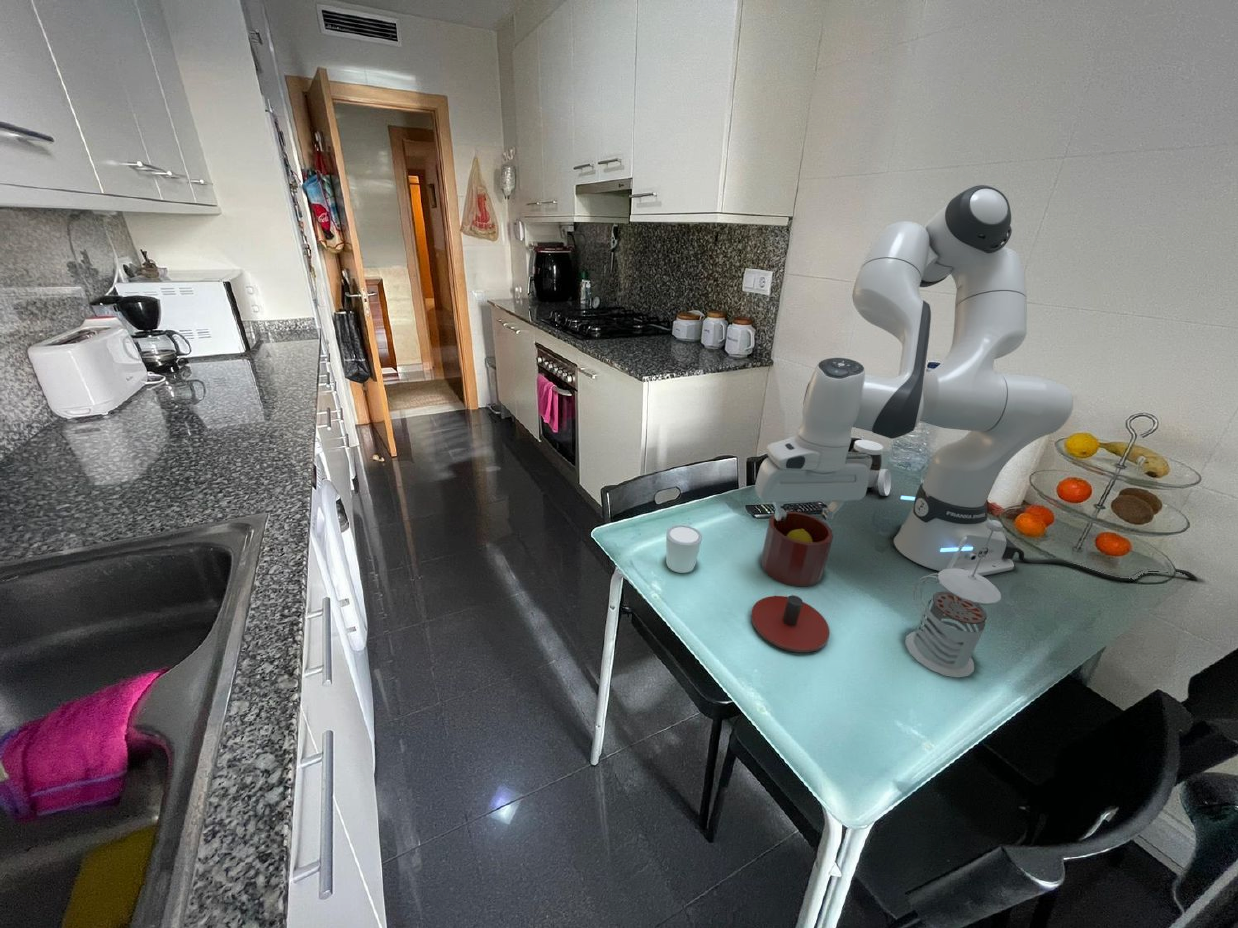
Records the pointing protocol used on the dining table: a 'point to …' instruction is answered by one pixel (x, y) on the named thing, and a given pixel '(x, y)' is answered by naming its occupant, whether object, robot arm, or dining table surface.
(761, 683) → the dining table surface
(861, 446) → the spread jar
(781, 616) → the tin lid
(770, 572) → the tin
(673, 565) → the white cup
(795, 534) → the lemon
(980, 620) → the french press
